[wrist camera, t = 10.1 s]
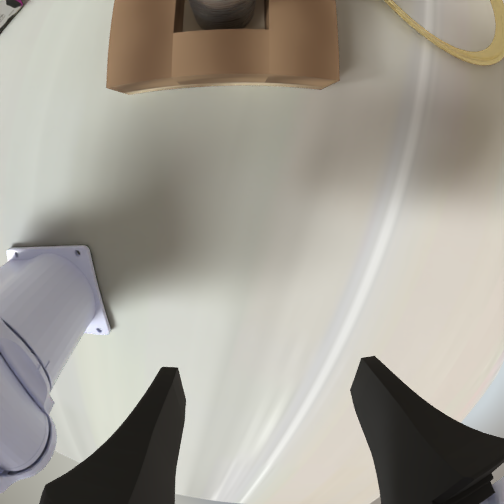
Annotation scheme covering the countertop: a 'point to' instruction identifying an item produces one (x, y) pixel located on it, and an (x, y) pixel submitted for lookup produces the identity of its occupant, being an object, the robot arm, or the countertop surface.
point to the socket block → (222, 47)
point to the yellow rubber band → (494, 53)
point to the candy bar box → (8, 11)
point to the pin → (222, 13)
